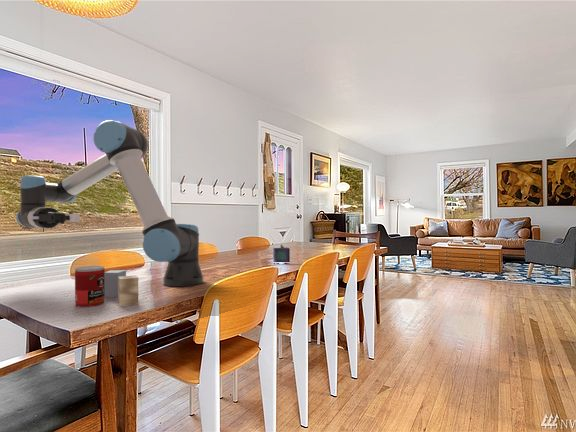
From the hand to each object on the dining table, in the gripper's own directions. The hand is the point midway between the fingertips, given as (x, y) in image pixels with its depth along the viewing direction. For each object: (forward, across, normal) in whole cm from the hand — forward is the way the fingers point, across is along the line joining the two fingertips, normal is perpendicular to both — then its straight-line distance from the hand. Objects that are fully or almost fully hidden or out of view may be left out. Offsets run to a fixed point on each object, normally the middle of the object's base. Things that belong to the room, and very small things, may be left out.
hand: (77, 217), depth 110 cm
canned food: (+11, +1, -26) cm, 28 cm away
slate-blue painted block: (+6, -9, -26) cm, 28 cm away
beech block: (+20, -5, -26) cm, 33 cm away
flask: (+11, -102, -26) cm, 106 cm away
